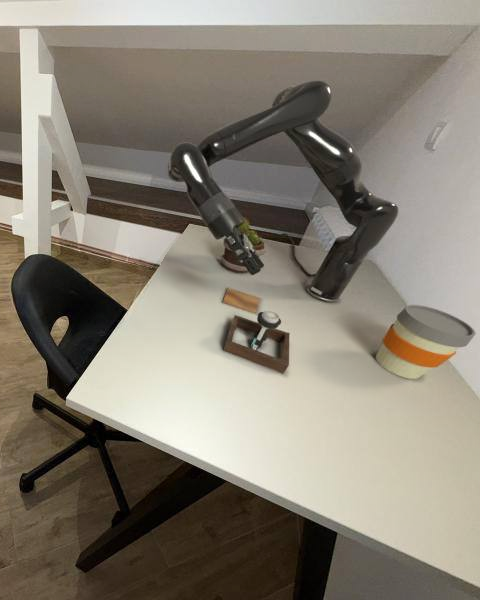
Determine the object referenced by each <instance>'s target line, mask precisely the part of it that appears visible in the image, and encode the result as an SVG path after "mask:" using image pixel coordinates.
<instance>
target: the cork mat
mask: <svg viewBox="0 0 480 600" xmlns="http://www.w3.org/2000/svg"><path fill="white" fill-rule="evenodd" d="M259 301H260V297H258V296H255V295H251V294H248V293H245V292H242V291H238V290H236V289H232V288H229V287H228V288H227V289H226V292H225V295H224V297H223V300H222V303H223V304H226V305H229V306H232V307H235V308H239V309H240V310H245V311H247V312H250V313H253V314H258V307H259Z"/></svg>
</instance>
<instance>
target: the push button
mask: <svg viewBox="0 0 480 600" xmlns="http://www.w3.org/2000/svg"><path fill="white" fill-rule="evenodd" d="M256 320H257V321H256V322H257V323H259V324H260V325H261V326H260V328H259V330H258V331H255V332H254V333H253V335H252V336H251V339H250V341H252V340H253V341H252V342H251V344H250V346H249V348H251V349H254V350H256V351H258V349H261V348H262V347H263V346H264V344H265V341H266V340H267V335H266V334H267V331H268V329H269V328H270V329H272V328H275V329H278V327H279V326H280V325H281V324H282V320H281V318H280V316H279V314H278V313H276V312H274V311H271V310H264V311H260V312H257V318H256Z"/></svg>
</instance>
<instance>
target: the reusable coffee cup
mask: <svg viewBox="0 0 480 600" xmlns="http://www.w3.org/2000/svg"><path fill="white" fill-rule="evenodd" d="M475 336H476V331H475V329H474V328H473V327H472V326H471V325H469V324H468V323H467V322H466V321H464V320H462V319H460V318H458V317H456V316H455V315H453V314H450V313H447V312H445V311H442V310H440V309H436V308H434V307H430V306H427V305H420V304H408V305H406V306H405V307H404V308H403V309H402V310H401V311H400V312H399V313H398V314H397V315H396V320H395V322H394V323H391V325H390V326H389V328H388V330H387V332H386V333H385V335H384V337H383V339H382V345H381V346H380V348H379V350H378V351H377V353H376V355H375V359H376V361H377V363H378V364H379V365H380V366H382V368H384V369H385V370H387V371H388V372H391V373H393V374H394V375H397V376H399V377H402V378H405V379H410V380H411V379H412V380H416V379H419V378H420V377H422V376H423V375H424V374H426V373H427V372H428V371H430V370H432V369H434V368H438V367H440V366H441V365H442V364H444V363H445V362H447V361H448V360H450V359H451V358H452V357H454V356H455V355H457V351H458V350H459V349H461V348H464V347H467V346H468V345H469V344H470V342H471V341H472V339H473V338H474V337H475Z"/></svg>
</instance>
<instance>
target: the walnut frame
mask: <svg viewBox="0 0 480 600" xmlns="http://www.w3.org/2000/svg"><path fill="white" fill-rule="evenodd" d="M260 326H261V325H260V324H259V323H258V321H255V320H251V319H248V318H245V317H242V316H239V315H236V314H234V316H233V318H232V320H231V322H230V325H229V330H228V332H227V336H226V340H225V344H224V347H223V352H226V353H228V354H231V355H233V356H237V357H239V358H241V359H243V360H246V361H249V362H252V363H255V364H257V365H260V366H262V367H264V368H268V369H270V370H273V371H275V372H278V373H280V374H285V372H286V371H287V369H288V367H290V333H289V332H287V331H284V330H281V329H278V328H272V329H270V328H269V329H268V331H267V334H266V335H267V338H268V339H270V340H273V341H276V342H279V343H280V348H279V357H276V356H272V355H270V354H268V353H265V352H261V351H259V350H254V349H252V348H251V347H248V346H245V345H242V344H239V343H237V342H235V341H233V339H234V335H235V331H236V327H237V328H239V329H241V330H244V331H247V332H249V333H250V332H251V333H253V334H254V332H255V331H258V330H259V328H260ZM267 338H266V339H267Z"/></svg>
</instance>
